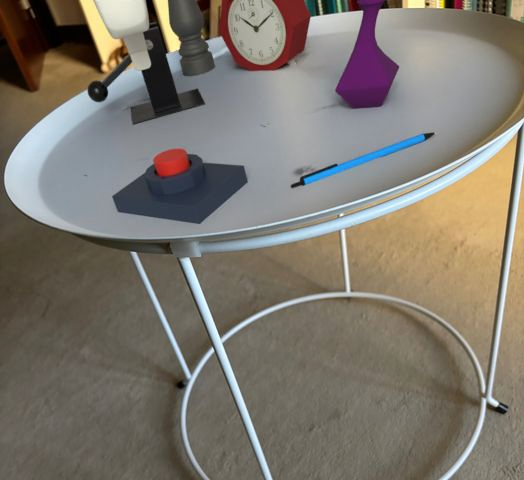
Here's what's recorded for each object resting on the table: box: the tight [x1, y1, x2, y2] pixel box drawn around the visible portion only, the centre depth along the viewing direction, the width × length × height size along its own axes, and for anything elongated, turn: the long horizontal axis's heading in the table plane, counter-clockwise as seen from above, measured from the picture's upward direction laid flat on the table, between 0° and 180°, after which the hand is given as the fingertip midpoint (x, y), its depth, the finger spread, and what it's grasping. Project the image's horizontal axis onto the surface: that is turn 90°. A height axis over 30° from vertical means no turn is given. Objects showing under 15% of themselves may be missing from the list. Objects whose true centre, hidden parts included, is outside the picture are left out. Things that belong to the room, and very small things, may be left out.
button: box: [152, 148, 190, 176], centre depth 69 cm, size 4×4×2 cm
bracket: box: [129, 21, 206, 126], centre depth 94 cm, size 12×9×13 cm
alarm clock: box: [218, 0, 312, 72], centre depth 98 cm, size 15×9×20 cm, turn 58°
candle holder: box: [167, 0, 216, 77], centre depth 103 cm, size 6×6×25 cm
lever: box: [86, 53, 133, 103], centre depth 92 cm, size 14×3×3 cm, turn 103°
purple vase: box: [334, 0, 400, 109], centre depth 78 cm, size 8×8×18 cm
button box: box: [111, 153, 249, 225], centre depth 71 cm, size 13×10×4 cm
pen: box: [290, 132, 436, 189], centre depth 69 cm, size 1×19×1 cm, turn 112°
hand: (143, 66), depth 62 cm, fingers closed
